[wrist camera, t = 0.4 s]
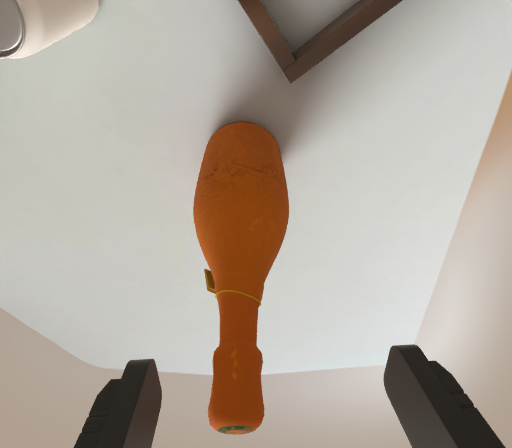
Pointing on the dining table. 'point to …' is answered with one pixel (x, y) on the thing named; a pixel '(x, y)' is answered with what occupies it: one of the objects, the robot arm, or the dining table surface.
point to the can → (40, 23)
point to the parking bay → (320, 46)
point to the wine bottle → (239, 260)
